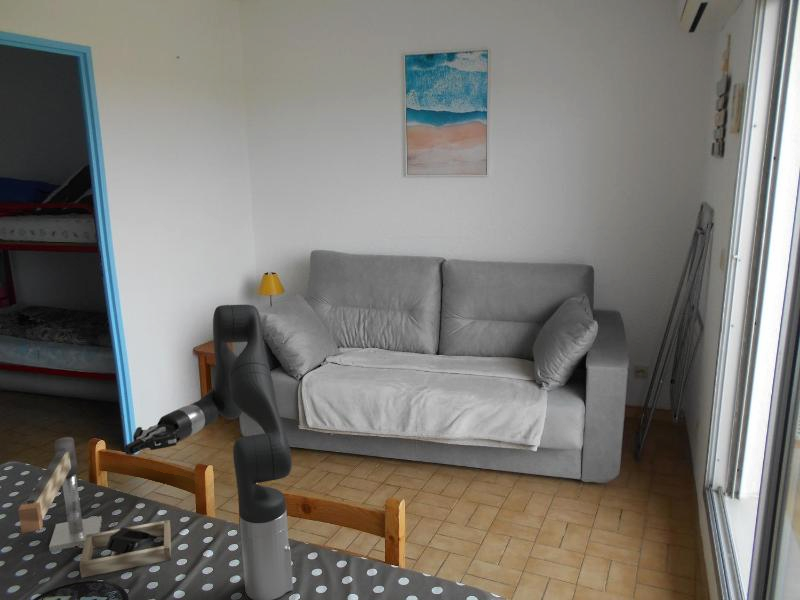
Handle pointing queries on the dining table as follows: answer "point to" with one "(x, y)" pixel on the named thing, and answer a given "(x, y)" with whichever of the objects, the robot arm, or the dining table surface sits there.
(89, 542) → the frame
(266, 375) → the robot arm
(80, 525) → the arm post
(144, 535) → the power plug
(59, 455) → the bar
